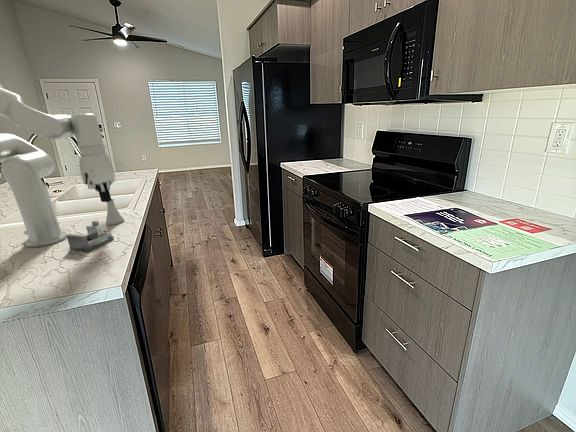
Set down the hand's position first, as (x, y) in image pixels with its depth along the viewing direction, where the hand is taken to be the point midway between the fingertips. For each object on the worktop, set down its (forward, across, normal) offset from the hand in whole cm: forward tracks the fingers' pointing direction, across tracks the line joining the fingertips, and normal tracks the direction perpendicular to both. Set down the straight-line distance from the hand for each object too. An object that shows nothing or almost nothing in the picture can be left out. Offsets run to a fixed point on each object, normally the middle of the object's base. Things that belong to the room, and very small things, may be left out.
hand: (106, 201), depth 114 cm
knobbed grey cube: (+12, +6, 0) cm, 13 cm away
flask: (+13, -11, -11) cm, 20 cm away
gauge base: (+13, +10, -1) cm, 16 cm away
